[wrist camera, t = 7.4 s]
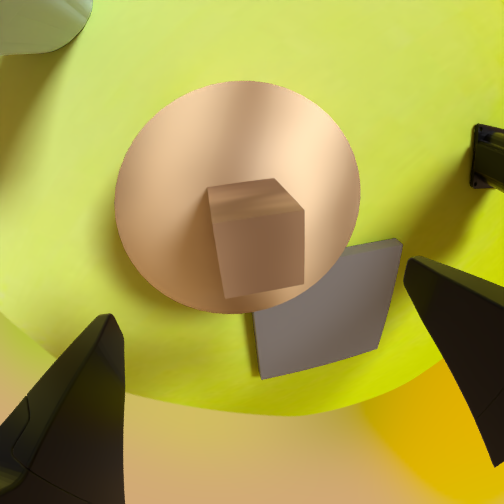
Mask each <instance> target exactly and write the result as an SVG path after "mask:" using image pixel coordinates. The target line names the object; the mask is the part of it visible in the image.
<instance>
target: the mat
mask: <svg viewBox="0 0 504 504" xmlns="http://www.w3.org/2000/svg"><path fill="white" fill-rule="evenodd" d="M402 247H403V244H402V243H400V242H399V241H398V240H397V239H396V238H393V239H388V240H382V241H377V242H371V243H366V244H361V245H355V246H350V247H345V249H344V251H343V253H342V254H341V256H340V257H339V258H338V260H337V261H336V263H335V264H334V265H333V266H332V267H331V269H330V270H329V271H328V272H327V273H326V274H325V275H324V276H323V277H322V278H321V279H320V280H319V281H318V282H317V283H315V284H314V285H313V286H311V287H310V288H309V289H307V290H306V291H305V292H303V293H301V294H300V295H298V296H296V297H295V298H293V299H291V300H288V301H286V302H284V303H282V304H280V305H277V306H274V307H271V308H268V309H264V310H260V311H256V312H252V316H253V325H254V333H255V341H256V350H257V358H258V367H259V373H260V377H261V380H263V379H267V378H272V377H277V376H281V375H286V374H290V373H294V372H298V371H303V370H307V369H310V368H314V367H318V366H322V365H325V364H329V363H333V362H336V361H340V360H343V359H346V358H350V357H353V356H356V355H359V354H362V353H365V352H369V351H372V350H375V349H377V348H378V344H379V341H380V338H381V335H382V331H383V328H384V324H385V321H386V317H387V313H388V310H389V306H390V302H391V298H392V294H393V290H394V286H395V281H396V277H397V272H398V267H399V263H400V258H401V252H402Z"/></svg>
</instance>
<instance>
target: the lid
mask: <svg viewBox="0 0 504 504" xmlns="http://www.w3.org/2000/svg"><path fill="white" fill-rule="evenodd" d="M359 204H360V179H359V172H358V167H357V163H356V160H355V156H354V154H353V151H352V149H351V147H350V145H349V142H348V140H347V139H346V137H345V136H344V134H343V132H342V131H341V129H340V128H339V127H338V125H337V124H336V123H335V122H334V121H333V119H332V118H331V117H330V116H329V115H328V114H327V113H326V112H325V111H323V110H322V109H321V108H320V107H319V106H318V105H316V104H315V103H313V102H312V101H310V100H309V99H307V98H306V97H304V96H302V95H300V94H298V93H296V92H294V91H291V90H289V89H287V88H284V87H280V86H277V85H273V84H269V83H263V82H255V81H230V82H224V83H218V84H212V85H209V86H206V87H203V88H200V89H197V90H194V91H192V92H190V93H188V94H186V95H184V96H182V97H180V98H178V99H176V100H174V101H173V102H171V103H170V104H169V105H167V106H166V107H164V108H163V109H161V110H160V111H159V112H158V113H157V114H156V115H155V116H154V117H153V118H152V119H151V120H149V121H148V122H147V123H146V125H145V126H144V127H143V128H142V130H141V131H140V132H139V133H138V135H137V136H136V137H135V139H134V140H133V142H132V144H131V146H130V147H129V149H128V151H127V153H126V155H125V157H124V160H123V162H122V165H121V168H120V170H119V175H118V179H117V184H116V190H115V217H116V223H117V228H118V232H119V236H120V239H121V241H122V244H123V247H124V249H125V251H126V253H127V255H128V256H129V258H130V260H131V262H132V263H133V265H134V266H135V267H136V269H137V270H138V271H139V273H140V274H141V275H142V276H143V277H144V278H145V279H146V280H147V281H148V282H149V283H150V284H151V285H152V286H153V287H155V288H156V289H157V290H158V291H160V292H161V293H163V294H164V295H166V296H167V297H169V298H171V299H172V300H174V301H177V302H179V303H181V304H183V305H185V306H188V307H191V308H195V309H198V310H202V311H207V312H212V313H222V314H241V313H249V312H256V311H260V310H264V309H268V308H271V307H274V306H277V305H280V304H282V303H284V302H286V301H288V300H291V299H293V298H295V297H296V296H298V295H300V294H301V293H303V292H305V291H306V290H307V289H309V288H310V287H311V286H313V285H314V284H315V283H317V282H318V281H319V280H320V279H321V278H322V277H323V276H324V275H325V274H326V273H327V272H328V271H329V270H330V269H331V267H332V266H333V265H334V264H335V263H336V261H337V260H338V258H339V257H340V256H341V254H342V253H343V251H344V249H345V247H346V246H347V244H348V242H349V240H350V238H351V235H352V232H353V230H354V227H355V224H356V220H357V216H358V212H359Z"/></svg>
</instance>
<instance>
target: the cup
mask: <svg viewBox="0 0 504 504" xmlns="http://www.w3.org/2000/svg"><path fill="white" fill-rule="evenodd" d="M92 5H93V0H0V56H1V55H14V54H36V53H46V52H52V51H55V50H57V49H59V48H61V47H62V46H64V45H66V44H67V43H69V42H70V41H71V40H72V39H73V38H74V37H75V36H76V35H77V34H78V33H79V32H80V31H81V30H82V28H83V27H84V25H85V24H86V22H87V20H88V18H89V16H90V14H91V11H92Z"/></svg>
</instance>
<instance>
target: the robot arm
mask: <svg viewBox="0 0 504 504" xmlns="http://www.w3.org/2000/svg"><path fill="white" fill-rule="evenodd" d="M470 186H471V187H472V188H474V189H477V188H496V189H498V190H500V191H501V192H503V193H504V129H501V128H497V127H492V126H488V125H484V124H479V123H478V124H477V125H476V129H475V144H474V155H473V165H472V173H471V180H470ZM403 282H404V286H405V288H406V290H407V292H408V294H409V296H410V298H411V300H412V302H413V304H414V306H415V308H416V310H417V312H418V314H419V316H420V318H421V320H422V322H423V324H424V325H425V327H426V329H427V330H428V332H429V334H430V335H431V337H432V339H433V340H434V342H435V344H436V346H437V347H438V349H439V351H440V353H441V354H442V356H443V358H444V360H445V362H446V363H447V365H448V367H449V369H450V371H451V373H452V374H453V376H454V378H455V380H456V382H457V384H458V386H459V388H460V390H461V392H462V394H463V396H464V398H465V400H466V402H467V404H468V406H469V408H470V411H471V413H472V415H473V417H474V419H475V422H476V424H477V426H478V429H479V431H480V433H481V436H482V438H483V441H484V443H485V445H486V448H487V451H488V453H489V456H490V458H491V461H492V464H493V465H494V467H496V466H498V465H499V464H501V463H502V462H504V287H502V286H499V285H497V284H494V283H492V282H489V281H487V280H484V279H482V278H479V277H477V276H474V275H471V274H469V273H466V272H464V271H461V270H458V269H455V268H453V267H450V266H447V265H445V264H442V263H439V262H436V261H434V260H431V259H428V258H425V257H422V256H415V257H411V258H409V260H408V261H407V265H406V270H405V274H404V279H403ZM124 402H125V362H124V337H123V334H122V332H121V330H120V328H119V326H118V324H117V322H116V320H115V318H114V316H113V315H112V314H102V315H98V316H97V317H96V318H95V319H94V320H93V321H92V322H91V323H90V324H89V325H88V327H87V328H86V329H85V330H84V331H83V332H82V333H81V334H80V335H79V336H78V337H77V338H76V339H75V340H74V341H73V343H72V344H71V345H70V346H69V347H68V348H67V349H66V350H65V351H64V352H63V353H62V355H61V356H60V357H59V358H58V359H57V360H56V361H55V362H54V364H53V365H52V366H51V367H50V368H49V369H48V370H47V371H46V373H45V374H44V375H43V376H42V377H41V378H40V380H39V381H38V382H37V383H36V384H35V385H34V387H33V388H32V389H31V390H30V391H29V393H28V394H27V396H25V397H24V398H23V400H22V401H21V402H20V403H19V405H18V406H17V407H16V408H15V409H14V411H13V412H12V413H11V414H10V415H9V417H8V418H7V419H6V420H5V421H4V422H3V423H2V424H1V426H0V504H125V496H124V474H123V426H124V425H123V424H124Z"/></svg>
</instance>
